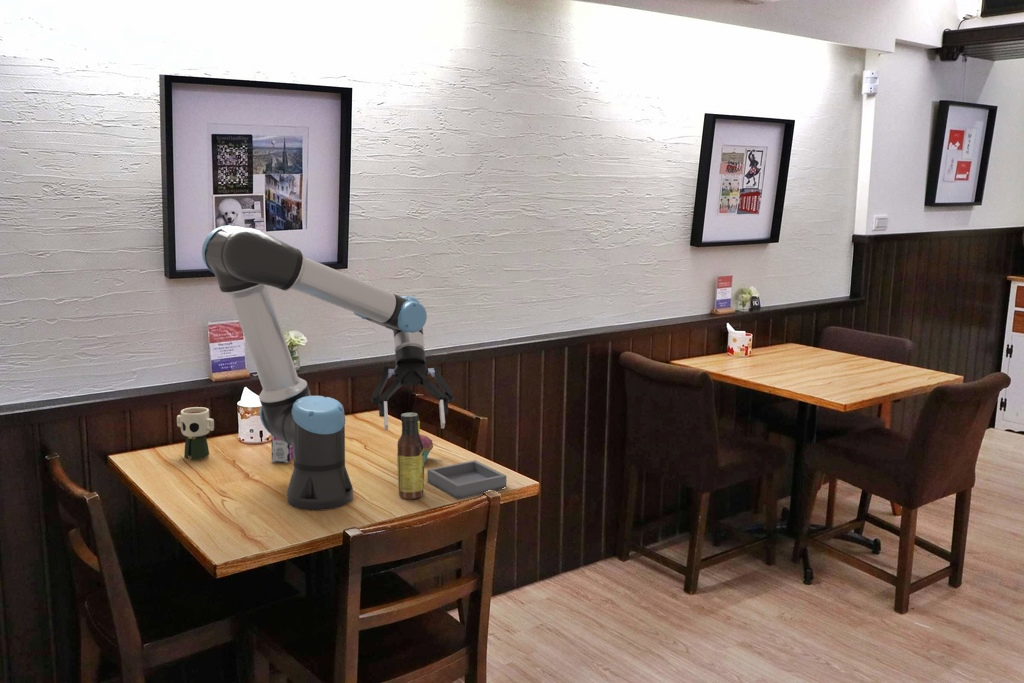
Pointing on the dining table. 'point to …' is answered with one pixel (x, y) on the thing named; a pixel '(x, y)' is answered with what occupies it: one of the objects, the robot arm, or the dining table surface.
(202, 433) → the character mug
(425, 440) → the cupcake
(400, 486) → the sauce bottle
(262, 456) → the dining table surface
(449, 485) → the tray
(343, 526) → the dining table surface
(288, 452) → the candy bar box
